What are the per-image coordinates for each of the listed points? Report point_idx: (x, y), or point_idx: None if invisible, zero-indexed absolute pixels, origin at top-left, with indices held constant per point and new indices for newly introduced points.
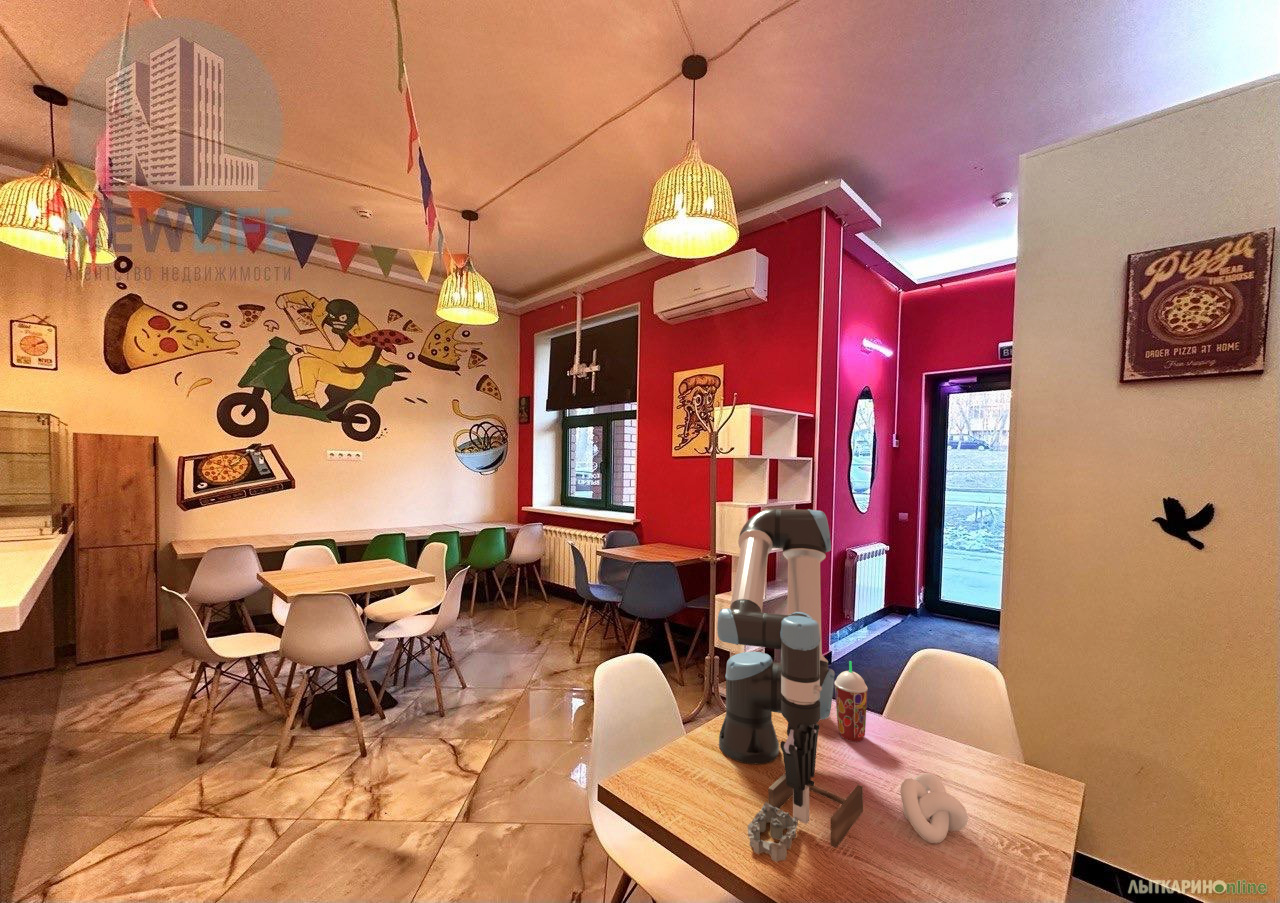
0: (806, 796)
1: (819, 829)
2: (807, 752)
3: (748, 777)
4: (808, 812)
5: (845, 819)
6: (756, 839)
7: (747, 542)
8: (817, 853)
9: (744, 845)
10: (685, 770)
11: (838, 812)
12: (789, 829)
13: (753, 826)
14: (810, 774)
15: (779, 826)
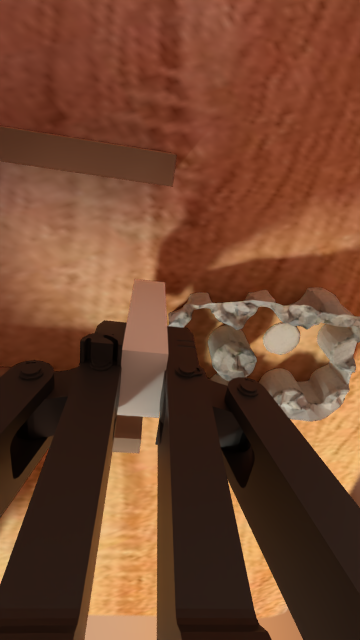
0: (160, 332)
1: (106, 238)
2: (83, 596)
3: (25, 482)
4: (140, 292)
5: (46, 133)
6: (291, 377)
7: None
8: (238, 208)
9: None
10: (124, 573)
11: (96, 158)
12: (241, 319)
13: (300, 407)
14: (77, 387)
15: (250, 350)
